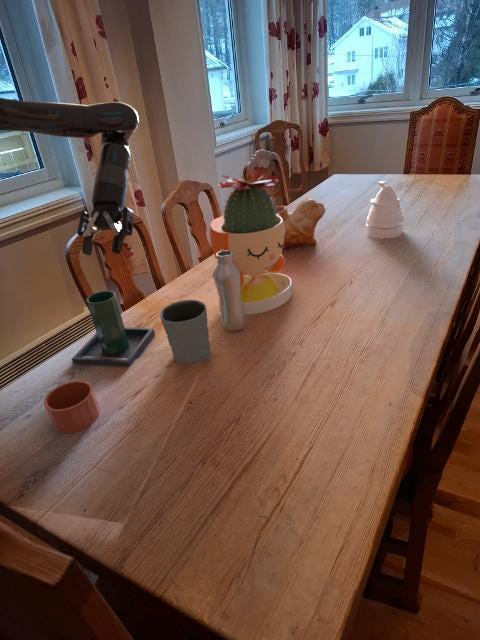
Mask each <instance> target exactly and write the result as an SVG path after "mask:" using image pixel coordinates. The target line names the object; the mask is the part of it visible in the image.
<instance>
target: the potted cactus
mask: <svg viewBox="0 0 480 640" xmlns="http://www.w3.org/2000/svg"><path fill="white" fill-rule="evenodd" d="M264 171H265V167H264V166H262V165H261V166H260V167H258V168H256V167H255V168H253V169H251V170H250V171H248V172H246V174H245V175H244V174H242V175H240V177H233V178H232V177H230V176H228V175H221V177H222V178H225V179H227V180H226V182H225V183H224V182H223V181H219V183H218V184H217V186H218V187H219V188H221V189H225V188H226V189H227V188H228V189H229V188H230V189H232V190H229V194H226V196H227V197H226V196H225V197H226V198H227V200H224V202H225V204H223V205H222V207H223V208H224V209H222V210H221V212H223V215H220V216H219V217H216V218H214V219H212V221H211V222H210V225H209V241H210V245H211V249H212V252H213V255H214V258H215V260H216V261H217V256H216V254H217V253H218V252H220V251H232V254H233V261H232V262H233V263H234V264H235V265H236V266H237V267H238V268H239V270H240V273H241V284H240V289H241V300H242V304H243V309H244V311H245V314H246V315H255V314H261V313H266V312H268V311H272V310H274V309H277V308H278V307H280V306H283V305H284V304H285V303H287V302H288V301H289V300H290V299H291V297H292V295H293V283H292V282H293V281H292V279H291V277H290V276H288V275H287V274H285V273H280V272H279V271H281V270H283V268H284V267H285V265H286V260H285V257H284V256H283V255H282V253H283V251H284V250H283V246H284V242H285V229H284V224H283V220H282V218H281V216H280V214H276V212H278V211H276V209H277V208H276V209H275V207H276V206H277V205H276V204H275V203H274V201H275V198H273V197H272V195H273V194H274V193H273V192H272V193H271V195H270V190H268V188H269V187H271V188H272V187H274V186H275V185H276V184H277V183H279V179H278V178H277V177H276V176H275V175H272V174H271V175H269V176H267V177H266V178H264V174H263V173H264ZM263 178H264V179H263ZM278 210H279V209H278Z"/></svg>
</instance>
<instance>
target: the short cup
mask: <svg viewBox="0 0 480 640" xmlns="http://www.w3.org/2000/svg"><path fill="white" fill-rule="evenodd" d="M43 405H44V408H45V410H46V412H47V415H48V417H49V420H50V422H51V425H52V427H53V429H54V430H55V431H56V432H57V433H61V434H72V433H73V434H74V433H77V432H80V431H83V430H85V429H86V428H88V427H90V426H91V425H92V424H94V423H95V422H96V421H97V420H98V418H99V416H100V412H101V408H100V405H99V403H98V399H97V396H96V394H95V391H94V388H93V387H92V384H91V383H90V382H88V381H85V380H72V381H68V382H64V383H62V384H60V385H58V386H56V387H54V388H53V389H52V390H50V392H48V394H47V395H46V396H45V398H44V400H43Z"/></svg>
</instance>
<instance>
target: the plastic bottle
mask: <svg viewBox="0 0 480 640" xmlns="http://www.w3.org/2000/svg"><path fill="white" fill-rule="evenodd" d="M216 256H217V260H216V263H217V265H216V266H215V268H214V270H213V273H212V277H213V282H214V286H215V288H216V292H217V296H218V301H219V302H218V303H219V323H220V325H221V328H223V329H224V330H225V331H229V332H237V331H239V330H242V329H243V328H244V327H245V326H246V324H247V314H245V311H244V309H243V304H242V300H241V289H240V284H241V273H240V270H239V268H238V267H237V266H236V265H235V264H234V263H233V262H232V261H233V254H232V251H220V252H218V253H217V254H216Z"/></svg>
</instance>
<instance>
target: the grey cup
mask: <svg viewBox="0 0 480 640" xmlns="http://www.w3.org/2000/svg"><path fill="white" fill-rule="evenodd" d="M159 317H160V321H161V324H162V326H163V329H164V332H165V335H166V338H167V341H168V344H169V347H171V349H170V350H171V353H172V356H173V359H174V361H176V362H177V363H179V364H183V365H193V364H198V363H204V362H206V361H207V360H208V359H209V358H210V355H211V352H212V351H211V343H210V333H209V327H208V323H209V322H208V311H207V305H206V304H205V303H204V302H203V301H200V300H196V299H184V300H179V301H176V302H172V303H169V304H168V305H167V306H165V307H163V308H162V310H161V311H160V314H159Z"/></svg>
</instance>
